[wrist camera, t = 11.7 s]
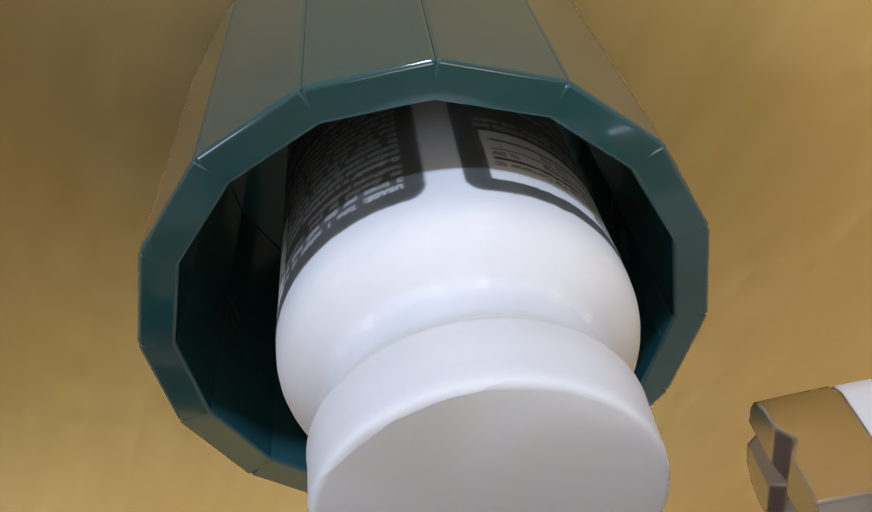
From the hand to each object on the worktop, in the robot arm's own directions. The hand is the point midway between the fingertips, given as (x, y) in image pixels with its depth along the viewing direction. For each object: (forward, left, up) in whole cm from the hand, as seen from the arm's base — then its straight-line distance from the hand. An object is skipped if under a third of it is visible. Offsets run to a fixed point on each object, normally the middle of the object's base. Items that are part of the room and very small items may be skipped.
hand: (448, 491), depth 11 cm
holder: (0, 0, -10) cm, 10 cm away
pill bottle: (0, 0, -10) cm, 10 cm away
